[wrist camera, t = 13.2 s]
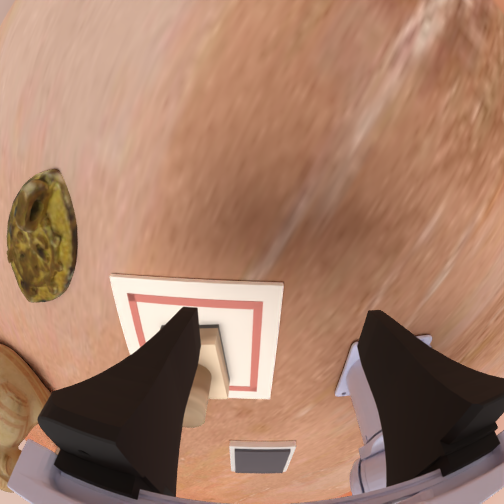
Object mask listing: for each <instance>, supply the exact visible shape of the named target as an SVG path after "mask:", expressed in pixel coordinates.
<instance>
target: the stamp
mask: <svg viewBox="0 0 504 504" xmlns="http://www.w3.org/2000/svg"><path fill="white" fill-rule="evenodd" d="M163 326H164V325H162V326H161V328H162V327H163ZM161 328H160V329H161ZM199 329H200V339H201V349H200V355H199V362H198V367H197V370H196V374H195V377H194V381H193V384H192V388H191V391H190V395H189V398H188V402H187V405H186V409H185V414H184V419H183V426H182V427H187V428H195V427H199V426H202V425H203V424H204V422H205V417H206V410H207V404H208V399H228V394H229V384H230V377H229V373H228V368H227V363H226V358H225V354H224V349H223V344H222V339H221V334H220V328H219V324H212V325H199Z"/></svg>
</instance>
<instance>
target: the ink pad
mask: <svg viewBox="0 0 504 504" xmlns="http://www.w3.org/2000/svg"><path fill="white" fill-rule="evenodd" d="M229 448H230V460H231V471H235V473H282V472H286V470H287V468H288V465H289V463H290V461H291V458H292V456H293V453H294V451H295V448H296V441H233V440H230V445H229Z"/></svg>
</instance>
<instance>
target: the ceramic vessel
mask: <svg viewBox="0 0 504 504" xmlns="http://www.w3.org/2000/svg"><path fill="white" fill-rule="evenodd" d="M50 395H51V393H50V391H49V390H48V389H47V388H46V387H45V386H44V384H43V383H42V382H41V380H40V379H39V378H38V376H37V375H36V374H35V373H34V371H33V370H32V369H31V368H30V367H29V366H28V364H27V363H26V362H25V361H24V360H23V359H22V358H21V357H20V356H19V355H18V354H17V353H16V352H14V351H13V350H12V349H11V348H9V347H7V346H5V345H3V344H0V489H1V490H3V491H6V492H14V491H12V490H11V489H10V488H8V486H7V484H8V481H9V479H10V476H11V474H12V472H13V469H14V467H15V465H16V463H17V461H18V458H19V456H20V454H21V452H22V451H21V450H19V449H18V446H19V444H20V443H21V442H22V441H23V440H24V439H25V437H26V436H27V435H28V433H29V432H30V431H31V429H32V428H33V427H34V426H35V425H37V424H39V423H38V420H37V419H38V416H39V414H40V412H41V411H42V409H43V407H44V405H45V404H46V402H47V400H48V398H49V397H50Z"/></svg>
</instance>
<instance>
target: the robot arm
mask: <svg viewBox="0 0 504 504" xmlns="http://www.w3.org/2000/svg"><path fill="white" fill-rule="evenodd" d="M431 341H432V337H431V335H424V336H414V335H413V334H412V333H411V332H409V331H408V330H407V329H405V328H404V327H403V326H402V325H400V324H399V323H398V322H396V321H395V320H394V319H392V318H391V317H390V316H388V315H387V314H386V313H384V312H383V311H381V310H369V311H368V313H367V317H366V320H365V323H364V326H363V330H362V333H361V336H360V339H359V342H355V343H353V344H352V346H351V349H350V352H349V355H348V358H347V360H346V363H345V366H344V369H343V372H342V374H341V377H340V380H339V382H338V385H337V388H336V390H335V396H338V397H339V396H349V395H350V396H351V399H352V403H353V406H354V410H355V413H356V417H357V420H358V424H359V428H360V431H361V435H362V439H363V442H364V446H363V447H361V448H359V453H360V458H359V459H357V460H356V461H355V462H354V464H353V466H352V469H351V472H350V487H351V492H352V496H347V497H341V498H335V499H329V500H322V501H314V502H304V503H292V504H481V503H483V502H484V501H486V500H487V499H488V498H490V497H491V496H492V495H494V494H495V493H496V492H498V491H499V490H500V489H502V488H503V487H504V430H503V431H502V432H500V433H499V434H498V435H496V433H495V430H496V429H497V428H498V426H497V424H496V421H497V419H498V418H499V417H500V416H501V415H502V414H503V413H504V378H500V377H496V376H491V375H488V374H485V373H482V372H479V371H476V370H473V369H471V368H468V367H466V366H464V365H462V364H460V363H457V362H455V361H453V360H451V359H450V358H448V357H446V356H444V355H443V354H441V353H439V352H438V351H436V350H434V349H433V348H432V347H431V345H430V343H431ZM200 349H201V339H200V329H199V318H198V308H196V307H182V308H181V309H180V310H179V311H178V312H177V313H176V314H175V315H174V316H173V317H172V318H171V319H170V320H169V321H168V322H167V323H166V324H165V325H164V326H163V327H162V328H161V329H160V330H159V331H158V332H157V333H156V334H155V335H154V336H153V337H152V338H151V339H150V340H148V341H147V342H146V343H145V344H144V345H143V346H141V347H140V348H139V349H138V350H137V351H135V352H134V353H133V354H131V355H130V356H128V357H127V358H125V359H124V360H123V361H121V362H119V363H118V364H116V365H114V366H113V367H111V368H109V369H107V370H106V371H104V372H102V373H100V374H98V375H96V376H94V377H92V378H90V379H87V380H85V381H83V382H80V383H77V384H75V385H72V386H69V387H66V388H63V389H59V390H56V391H53V392H52V393H51V395H50V397H49V398H48V400H47V402H46V404H45V405H44V407H43V409H42V411H41V412H40V414H39V416H38V419H37V420H38V423H39V425H40V427H41V429H42V430H43V431H44V432H45V433H46V435H47V436H48V437H49V438H50V439H51V440H52V441H53V442H54V443H55V444H56V445H57V446H58V447H59V448H60V451H59V453H58V455H57V454H56V453H54V452H53V451H51V450H49V449H48V448H46V447H44V446H42V445H40V444H38V443H36V442H34V441H33V440H31V439H28V440H27V442H26V444H25V446H24V448H23V450H22V452H21V454H20V456H19V458H18V461H17V463H16V465H15V467H14V469H13V472H12V474H11V476H10V479H9V481H8V484H7V486H8V488H10V489H11V490H12V491H14V492H15V493H16V494H18V495H19V496H21V497H22V498H24V499H25V500H27V501H28V502H30V503H31V504H228V503H215V502H206V501H198V500H190V499H184V498H178V497H176V482H177V468H178V457H179V448H180V440H181V432H182V426H183V419H184V414H185V409H186V405H187V402H188V398H189V395H190V391H191V388H192V384H193V381H194V377H195V374H196V370H197V367H198V362H199V355H200Z"/></svg>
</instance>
